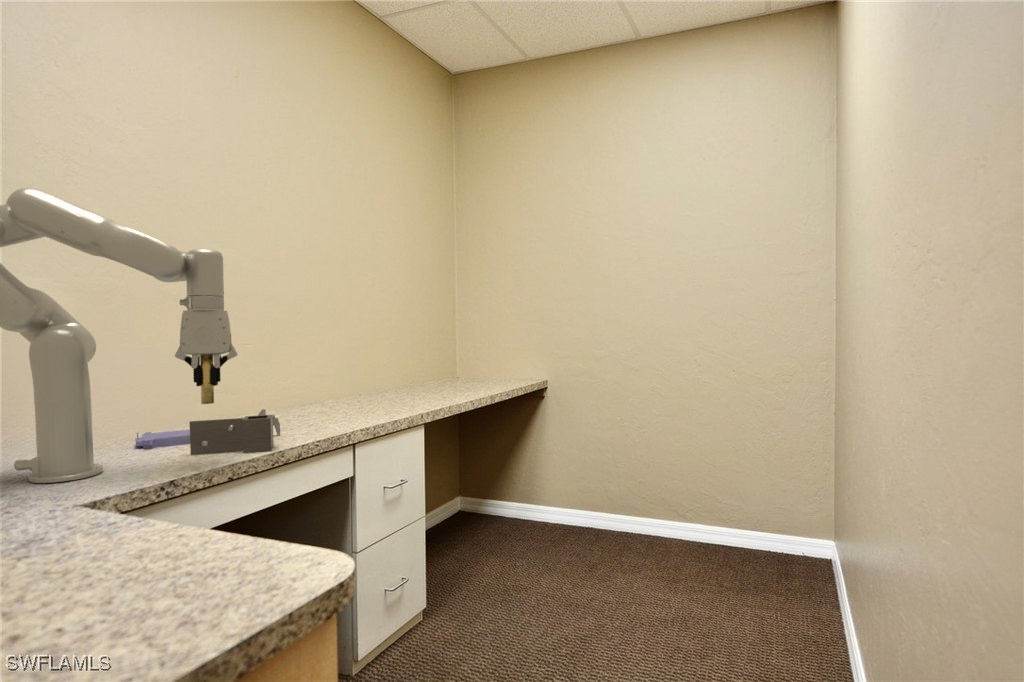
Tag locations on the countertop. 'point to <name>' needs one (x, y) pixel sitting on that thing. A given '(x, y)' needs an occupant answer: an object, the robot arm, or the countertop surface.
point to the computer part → (163, 439)
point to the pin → (206, 379)
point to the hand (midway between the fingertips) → (207, 384)
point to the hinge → (232, 434)
